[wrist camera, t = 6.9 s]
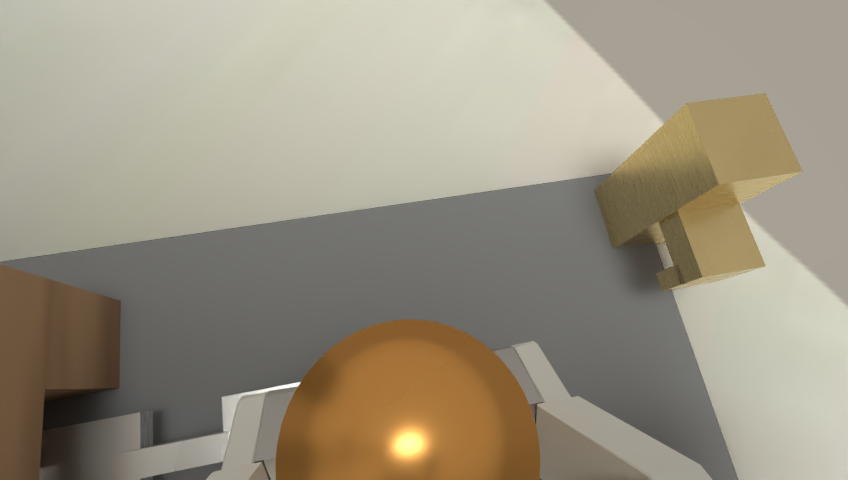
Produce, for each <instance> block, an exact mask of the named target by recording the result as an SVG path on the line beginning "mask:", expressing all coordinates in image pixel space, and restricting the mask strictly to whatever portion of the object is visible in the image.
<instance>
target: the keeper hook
mask: <svg viewBox="0 0 848 480" xmlns="http://www.w3.org/2000/svg"><path fill="white" fill-rule="evenodd" d="M801 172H802V169H801V167H800V165H799V163H798V161H797V159H796V157H795V154H794V152H793V150H792V148H791V146H790V144H789V142H788V140H787V138H786V136H785V134H784V131H783V129H782V127H781V125H780V123H779V121H778V119H777V117H776V115H775V112H774V110H773V108H772V106H771V104H770V102H769V100H768V98H767V96H766V94H765V93H764V94H756V95H748V96H740V97H732V98H725V99H717V100H709V101H701V102H693V103H686V104H685V105H684V106H683V107H682V108H681V109H680V110H678V111H677V112H676V113H675V114H674V115H673V116H672V117H671V118H670V119H669V120H668V121H667V122H666V123H665V124H664V125H663V126H662V127H661V128H659V129H658V130H657V131H656V132H655V133H654V134H653V135H652V136H651V137H650V138H649V139H648V140H647V141H646V142H645V143H644V144H643V145H642V146H641V147H640V148H638V149H637V150H636V151H635V152H634V153H633V154H632V155H631V156H630V157H629V158H628V159H627V160H626V161H625V162H624V163H623V164H622V165H621V166H620V167H618V168H617V169H616V170H615V171H614V172H613V173H612V174H611V175H610V176H609V177H608V178H607V179H606V180H605V181H604V182H603V183H602V184H601V185H600V186H599V187H597V188H596V189H595V190H594V192H595V195H596V198H597V201H598V204H599V207H600V210H601V214H602V217H603V220H604V223H605V226H606V229H607V232H608V235H609V239H610V242H611V245H612V248H613V249H616V248H622V247H628V246H634V245H640V244H646V243H652V242H655V244H656V243H662V242H666V245H667V247H668V250H669V253H670V256H671V259H672V261H673V264H674V266H673V267H670V268H668V269H665V270H663V271H661V272H658V273H656V275H657V278H658V281H659V284H660V287H661V290H662V291H666V290H672V289H677V288H683V287H688V286H694V285H699V284H705V283H710V282H716V281H720V280H723V279H726V278H729V277H732V276H735V275H739V274H742V273H745V272H748V271H751V270H755V269H758V268H761V267H764V266H765V264H764V261H763V259H762V257H761V254H760V252H759V249H758V247H757V245H756V242H755V240H754V238H753V235H752V233H751V230H750V228H749V226H748V223H747V221H746V218H745V216H744V214H743V211H742V209H741V207H740V204H741V203H743V202H745V201H747V200H748V199H751V198H752V197H754V196H756V195H758V194H760V193H762V192H764V191H766V190H768V189H770V188H772V187H773V186H776V185H778V184H780V183H782V182H784V181H785V180H787V179H789V178H791V177H793V176H795V175H797V174H799V173H801Z"/></svg>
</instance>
